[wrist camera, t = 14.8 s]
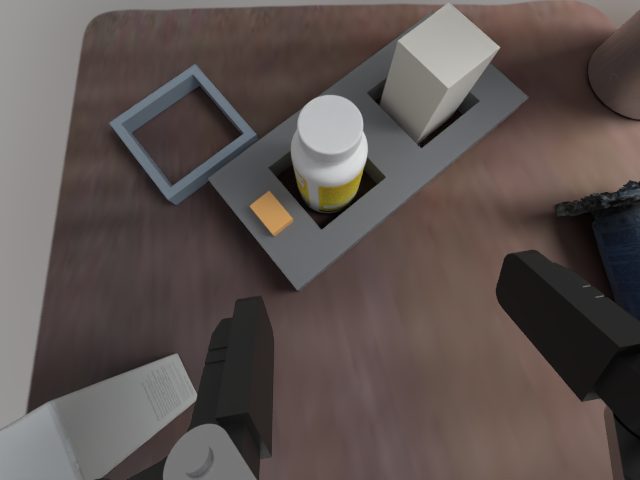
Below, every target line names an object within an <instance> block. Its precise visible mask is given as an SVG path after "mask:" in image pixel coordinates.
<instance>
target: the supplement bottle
mask: <svg viewBox="0 0 640 480" xmlns="http://www.w3.org/2000/svg"><path fill="white" fill-rule="evenodd" d="M367 154H368V144H367V139H366V136H365V134H364V132H363V119H362V115H361V113H360V111H359V109H358V108H357V107H356V106H355V105H354V104H353V103H352V102H351V101H349V100H348V99H346V98H343V97H341V96H336V95H324V96H320V97H317V98H315V99H313V100H311V101H310V102H308V103H307V104H306V105H305V106H304V107H303V109H302V110H301V112H300V114H299V117H298V121H297V130H296V132H295V134H294V136H293V139H292V142H291V158H292V163H293V167H294V171H295V176H296V180H297V185H298V189H299V193H300V195H301V197H302V199H303V201H304V202H305V203H306V204H307V205H308V206H309V207H310V208H311V209H313V210H315V211H318V212H321V213H335V212H339V211H341V210H343V209H345V208H346V207H347V206H348V205H350V203H351V202H352V201H353V199H354V198H355V196H356V193H357V190H358V187H359V184H360V180H361V177H362V173H363V170H364V166H365V163H366V159H367Z"/></svg>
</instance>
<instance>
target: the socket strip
mask: <svg viewBox="0 0 640 480" xmlns="http://www.w3.org/2000/svg"><path fill="white" fill-rule="evenodd" d="M499 49H500V47H499V46H498V45H497V44H496V43H495V42H494V41H492V40H491V39H490V38H489V37H488V36H487V35H486V34H484V33H483V32H482V31H481V30H480V29H479V28H478V27H477V26H475V25H474V24H473V23H472V22H471V21H470V20H469V19H467V18H466V17H465V16H464V15H463V14H462V13H461V12H460V11H458V10H457V9H456V8H455V7H454V6H453V5H452V4H450V3H448V4H446V5H445V6H444V7H442V8H441V9H440V10H438V11H437V12H436V13H435V12H433V11H432V12H431V13H429V14H428V15H427V16H425V17H424V18H423V19H421V20H420V21H419V22H417V23H416V24H415V25H413V26H412V27H411V28H409V29H408V30H407V31H405V32H404V33H402V34H401V35H400V36H398V37H397V38H396V39H394V40H393V41H392V42H390V43H389V44H388V45H386V46H385V47H384V48H382V49H381V50H380V51H378V52H377V53H376V54H374V55H373V56H372V57H370V58H369V59H368V60H366V61H365V62H363V63H362V64H361V65H359V66H358V67H357V68H355V69H354V70H353V71H351V72H350V73H349V74H347V75H346V76H345V77H343V78H342V79H341V80H339V81H338V82H337V83H335V84H334V85H333V86H331V87H330V88H329V89H327V90H326V91H324V92H323V93H322V94H320V95H319V96H318V97H320V96H324V95H336V96H341V97H343V98H346V99H348V100H349V101H351V102H352V103H353V104H354V105H355V106H356V107H357V108H358V109H359V111H360V113H361V115H362V119H363V132H364V134H365V136H366V139H367V144H368V154H367V159H366V163H365V166H364V171H365V172H366V173H367V174H368V175H369V176H370V177H371V178H372V179H373V181H374V182H375V183H376V184H377V185H376V186H375V187H374V188H372V189H371V190H370V191H369V192H368V193H366V194H365V195H364V196H363V197H361V198H360V199H359V200H358V201H356V202H355V203H354V204H353V205H352V206H350V207H349V208H348V209H347V210H345V211H344V212H343V213H342V214H340V215H339V216H338V217H337V218H336V219H334V220H333V221H332V222H331V223H329V224H328V225H327V226H326V227H325V228H323V229H322V230H321V229H320V228H319V226H318V225H317V224H316V223H315V222H314V221H313V219H312V218H311V217H310V216H309V215H308V214H307V212H306V211H305V210H304V209H303V208H302V207H301V205H300V204H299V203H298V202H297V201H296V200H295V198H294V197H293V196H292V195H291V194H290V193H289V191H288V190H287V189H286V188H285V187H284V186H283V184H282V183H281V182H280V181H279V180H278V179H277V176H278V175H280V174H281V173H282V172H283V171H285V170H286V169H287V168H289V167H290V166H291V165H293V163H292V158H291V142H292V139H293V136H294V134H295V132H296V130H297V121H298V117H299V114H300V112H301V110H302V109H303V108H302V109H300V110H299V111H298V112H296V113H295V114H294V115H292V116H291V117H290V118H288V119H287V120H286V121H284V122H283V123H281V124H280V125H279V126H277V127H276V128H275V129H273V130H272V131H271V132H269V133H268V134H267V135H265V136H264V137H263V138H261V139H260V140H259V141H257V142H256V143H255V144H253V145H252V146H251V147H249V148H248V149H247V150H245V151H244V152H242V153H241V154H240V155H238V156H237V157H236V158H234V159H233V160H232V161H230V162H229V163H228V164H226V165H225V166H224V167H222V168H221V169H220V170H218V171H217V172H216V173H214V174H213V175H212V176H210V177H209V178H208V180H209V181H210V183H211V184H212V185H213V186H214V187H215V189H216V190H217V191H218V192H219V194H220V195H221V196H222V197H223V199H224V200H225V201H226V202H227V204H228V205H229V206H230V207H231V209H232V210H233V211H234V212H235V214H236V215H237V216H238V217H239V219H240V220H241V221H242V222H243V224H244V225H245V226H246V227H247V228H248V230H249V231H250V232H251V233H252V235H253V236H254V237H255V238H256V240H257V241H258V242H259V243H260V245H261V246H262V247H263V248H264V250H265V251H266V252H267V253H268V255H269V256H270V257H271V258H272V260H273V261H274V262H275V263H276V265H277V266H278V267H279V268H280V269H281V271H282V272H283V273H284V274H285V276H286V277H287V278H288V279H289V281H290V282H291V283H292V284H293V286H294V287H295V288H296V289H297V291H301V290H302V289H303V288H305V287H306V286H307V285H308V284H309V283H311V282H312V281H313V280H314V279H315V278H317V277H318V276H319V275H320V274H321V273H323V272H324V271H325V270H326V269H327V268H329V267H330V266H331V265H332V264H333V263H335V262H336V261H337V260H338V259H339V258H341V257H342V256H343V255H344V254H345V253H347V252H348V251H349V250H350V249H351V248H353V247H354V246H355V245H356V244H357V243H359V242H360V241H361V240H362V239H363V238H365V237H366V236H367V235H368V234H369V233H371V232H372V231H373V230H374V229H375V228H376V227H378V226H379V225H380V224H381V223H382V222H384V221H385V220H386V219H387V218H388V217H390V216H391V215H392V214H393V213H394V212H396V211H397V210H398V209H399V208H400V207H402V206H403V205H404V204H405V203H406V202H408V201H409V200H410V199H411V198H412V197H414V196H415V195H416V194H417V193H418V192H420V191H421V190H422V189H423V188H424V187H426V186H427V185H428V184H429V183H430V182H432V181H433V180H434V179H435V178H436V177H438V176H439V175H440V174H441V173H442V172H444V171H445V170H446V169H447V168H448V167H449V166H451V165H452V164H453V163H454V162H455V161H457V160H458V159H459V158H460V157H461V156H463V155H464V154H465V153H466V152H467V151H469V150H470V149H471V148H472V147H473V146H475V145H476V144H477V143H478V142H479V141H481V140H482V139H483V138H484V137H485V136H487V135H488V134H489V133H490V132H491V131H493V130H494V129H495V128H496V127H497V126H499V125H500V124H501V123H502V122H503V121H505V120H506V119H507V118H508V117H509V116H511V115H512V114H513V113H514V112H515V111H516V110H517V109H518V108H519V107H520V106H521V105H522V104H523V103H524V102H525V101H526V100H527V99H528V98H529V97H528V96H527V95H526V94H525V93H523V92H522V91H521V90H520V89H519V88H518V87H517V86H516V85H515V84H513V83H512V82H511V81H510V80H509V79H508V78H507V77H506V76H505V75H503V74H502V73H501V72H500V71H499V70H498V69H497V68H496V67H495V66H493V65H492V64H491V63H490V62H491V60H492V59H493V57H494V56H495V54H496V53H497V52H498V50H499ZM381 96H382V98H381V101H380V105H378V104H377V103H376V102H375V101H376V100H377V99H378V98H380V97H381ZM316 98H317V97H316ZM456 110H458V111H459V112H460V113H461V114H462V116H461V117H460V118H459V119H457V120H456V121H455V122H454V123H452V124H451V125H450V126H449V127H447V128H446V129H445V130H444V131H443V132H441V133H440V134H439V135H438V136H436V137H435V138H434V139H433V140H431V141H430V142H429V143H428V144H427V145H425V146H424V147H423V148H422V149H421V148H420V147H419V146H418V144H419V143H420V142H421V141H423V140H424V139H425V138H426V137H428V136H429V135H430V134H431V133H432V132H434V131H435V130H436V129H437V128H439V127H440V126H441V125H442V124H444V123H445V122H446V121H447V120H449V119H450V118H451V117H452V116H453V114H454V113H455V111H456Z"/></svg>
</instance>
